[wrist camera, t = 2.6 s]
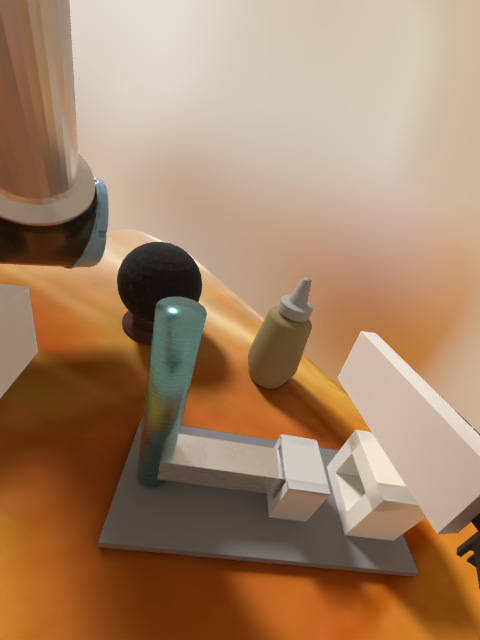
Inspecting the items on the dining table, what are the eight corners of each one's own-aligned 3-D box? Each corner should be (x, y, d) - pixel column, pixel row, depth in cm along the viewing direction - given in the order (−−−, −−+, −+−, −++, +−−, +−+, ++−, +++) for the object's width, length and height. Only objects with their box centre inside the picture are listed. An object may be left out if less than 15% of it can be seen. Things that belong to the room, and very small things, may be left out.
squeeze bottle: (298, 390, 45) (349, 295, 36) (257, 400, 41) (302, 296, 32) (272, 356, 51) (310, 267, 41) (233, 362, 47) (266, 264, 37)
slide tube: (132, 485, 26) (149, 317, 16) (142, 453, 29) (162, 292, 19) (287, 505, 29) (389, 368, 18) (283, 473, 31) (370, 339, 21)
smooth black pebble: (144, 297, 56) (151, 223, 48) (204, 321, 55) (221, 249, 47) (97, 329, 45) (96, 240, 37) (171, 360, 44) (185, 274, 36)
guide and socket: (97, 547, 23) (95, 498, 19) (140, 424, 33) (145, 373, 29) (413, 576, 28) (472, 543, 23) (366, 459, 38) (401, 420, 33)
